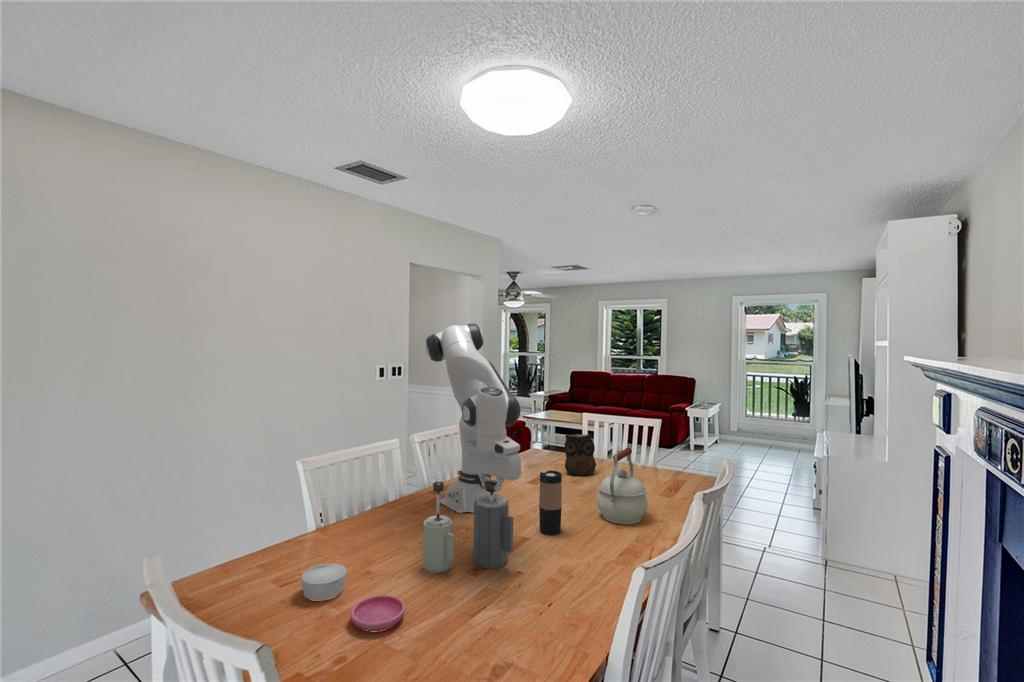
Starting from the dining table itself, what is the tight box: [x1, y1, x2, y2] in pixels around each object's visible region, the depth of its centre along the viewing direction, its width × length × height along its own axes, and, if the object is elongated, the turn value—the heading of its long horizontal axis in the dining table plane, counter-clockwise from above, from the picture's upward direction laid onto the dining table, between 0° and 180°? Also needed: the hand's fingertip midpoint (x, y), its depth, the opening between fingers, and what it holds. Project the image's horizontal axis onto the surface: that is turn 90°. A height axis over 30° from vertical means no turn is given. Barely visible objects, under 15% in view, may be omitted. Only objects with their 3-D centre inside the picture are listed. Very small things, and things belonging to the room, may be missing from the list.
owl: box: [564, 433, 597, 478], centre depth 240 cm, size 13×13×20 cm
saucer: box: [350, 594, 406, 631], centre depth 116 cm, size 12×12×3 cm
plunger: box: [486, 479, 498, 501], centre depth 147 cm, size 4×4×13 cm
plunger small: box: [432, 481, 445, 518], centre depth 143 cm, size 3×3×10 cm
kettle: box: [596, 447, 648, 525], centre depth 185 cm, size 25×18×25 cm
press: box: [472, 494, 514, 570], centre depth 146 cm, size 13×11×18 cm
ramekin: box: [300, 563, 348, 600], centre depth 128 cm, size 11×11×5 cm
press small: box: [422, 514, 455, 574], centre depth 142 cm, size 10×8×14 cm
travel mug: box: [538, 470, 563, 536], centre depth 170 cm, size 8×8×20 cm
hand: (491, 489), depth 147 cm, fingers closed on plunger, 4 cm apart
